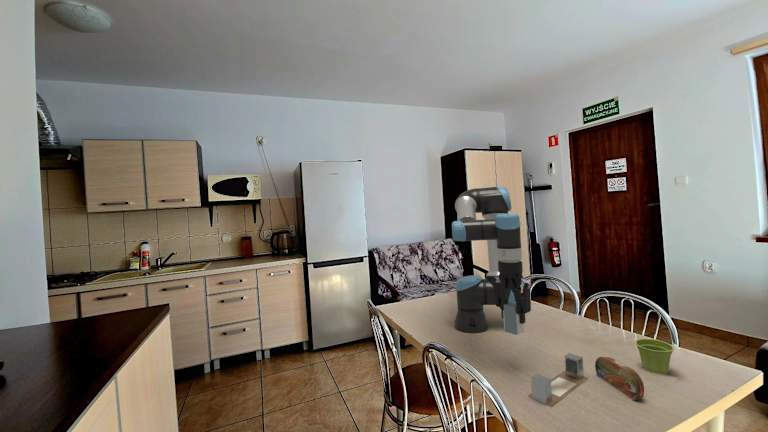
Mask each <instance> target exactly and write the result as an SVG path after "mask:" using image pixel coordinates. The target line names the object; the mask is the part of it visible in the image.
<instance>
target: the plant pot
mask: <svg viewBox="0 0 768 432" xmlns="http://www.w3.org/2000/svg"><path fill="white" fill-rule="evenodd" d="M634 343H635V345H636V346H637V350H638V352H639V356H640V361H641V365H642V368H643V369H645V370H648V371H649V372H653V373H658V374H659V373H660V374H663V375H666V376H668V375H669V368H670V362H671V356H672V354H673V351H674V350H675V347H674V346H673V345H672V344H670V343H668V342H665V341H662V340H659V339H652V338H639V339H636V340H635V342H634Z"/></svg>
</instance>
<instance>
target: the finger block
mask: <svg viewBox="0 0 768 432" xmlns="http://www.w3.org/2000/svg"><path fill="white" fill-rule="evenodd" d="M516 313H518V310H517V306H516V303H512V302H510V303H507V304H504V319H503V321H504V320H505V330H504V331H505V332H506V333H508V334H511V335H515V336H516V335H518V334H517V325H516Z"/></svg>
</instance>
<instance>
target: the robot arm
mask: <svg viewBox="0 0 768 432" xmlns="http://www.w3.org/2000/svg"><path fill="white" fill-rule="evenodd" d="M511 201H512V200H511V196H510V193H509V190H508V189H507V188H506V187H505V186H491V187H490V186H489V187H481V188H470V189H468V190H466V191H464V192H462V193H461V194H459V195H458V197H457V198H456V200H455V202H454V208H455V211H456V213H457V215H456V216H457V217H456V218H457V220H454V221H452V223H451V235H452V240H453V241H455V242H468V241H469V242H473V241H487V254H488V268H489V269H488V272H487V273H486V274H485V275H486V276H485V277H486V278H482V276H481V275H477V274H476V275H475V274H474V275H465V276H463V277H460V278H458V279H457V280H456V285H455V286H456V287H455V291H456V303H457V305H456V307H457V311H456V316H455V320H454V328H455V329H456V330H458V331H460V332H463V333H470V334H475V333H476V334H477V333H482V332H485V331H487V330H488V329H489V321H488V319H487V317H486V314H485V311H484V306H496V307H497V308H499V309H500V311H501V312H500V313H501V319H503V330H504V331H505V320H504V304H507V303H510V302H512V303H516V306H517V310H518V313H516V325H517V335H521V334H522V333H524V332H525V327H524V326H525V325H524V324H525V323H526V314H527V313H528V314H529V313H530V312H531V311H532V309H531V308H532V306H531V305H532V304H531V301H532V300H531V299H532V298H531V289H532V285H533V282H532V281H527V280H525V279H524V276H523V272H524V271H523V261H522V260H523V253H522V238H521V223H522V222H521V220H520V214H518V213H509V212H511V210H512V202H511ZM480 213H481V217H482V218H483V219H477V215H476V214H480ZM521 285H522V286H521Z"/></svg>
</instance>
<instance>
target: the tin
mask: <svg viewBox="0 0 768 432" xmlns="http://www.w3.org/2000/svg"><path fill="white" fill-rule="evenodd" d="M594 368H595V369H594V370H595V373H596V375H597V377H598V378H599V379H602V380H603V381H605V382H607V384H609V385H610V386H612V387H614V388H615V389H616V390H618V391H619V392H621V393H622V394H624V395H626V396H627V397H628V398H630V399H631V401H638V400H642V399H643V397H644V395H645V386H644V381H643V379H642V378H641V376H640V374H638V372H636V370H634V369H632V368H631V367H629V366H627V365H626V364H624V363H622V362H620V361H619V360H616V359H614V358H613V357H610V356H599V357H597V359H596V360H595V365H594Z"/></svg>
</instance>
